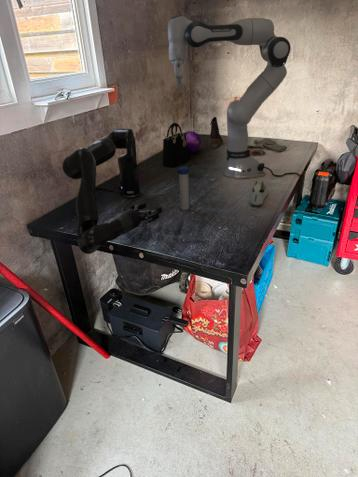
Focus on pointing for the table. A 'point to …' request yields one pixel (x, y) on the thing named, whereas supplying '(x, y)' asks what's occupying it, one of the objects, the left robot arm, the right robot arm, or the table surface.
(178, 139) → the handbag
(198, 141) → the decorative orb
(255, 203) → the ballet flat
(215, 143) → the boot
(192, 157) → the table surface
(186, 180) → the bottle
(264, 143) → the pair of gloves
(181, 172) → the lid
